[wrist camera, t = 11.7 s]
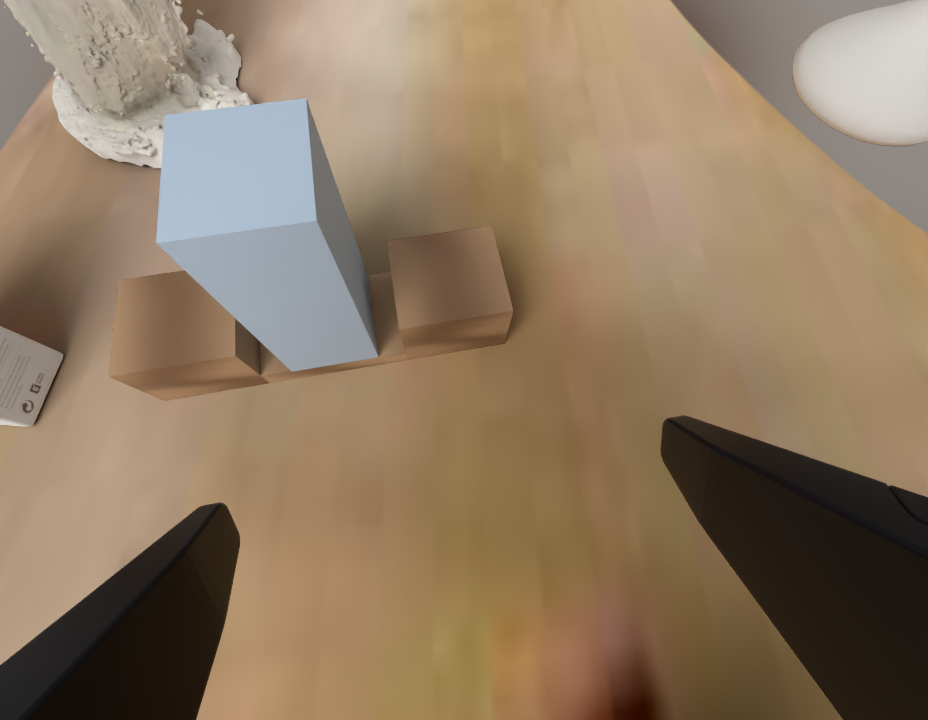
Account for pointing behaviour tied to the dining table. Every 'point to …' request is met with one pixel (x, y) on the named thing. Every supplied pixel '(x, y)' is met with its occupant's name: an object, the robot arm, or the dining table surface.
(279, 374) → the slotted plank
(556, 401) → the dining table surface
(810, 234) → the dining table surface
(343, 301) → the blue block
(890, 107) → the flower in vase
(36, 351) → the skincare box
